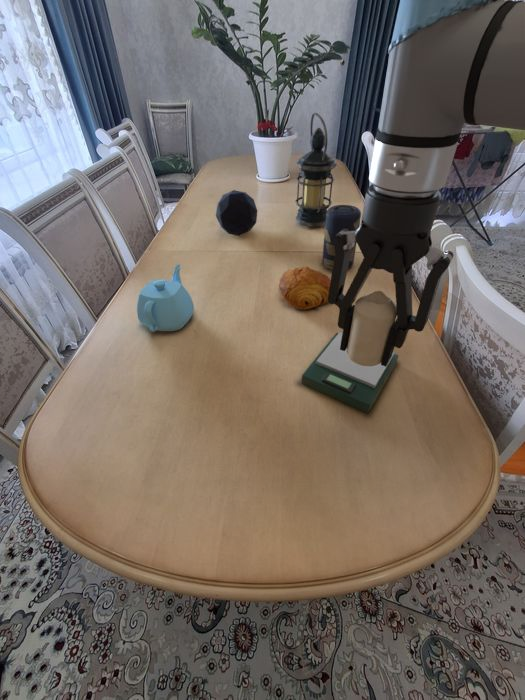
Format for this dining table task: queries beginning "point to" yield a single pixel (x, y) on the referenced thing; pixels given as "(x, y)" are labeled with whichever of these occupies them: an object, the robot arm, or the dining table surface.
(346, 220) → the canister
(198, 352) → the dining table surface
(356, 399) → the scale
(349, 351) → the candle
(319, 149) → the lantern
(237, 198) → the decorative orb
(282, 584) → the dining table surface
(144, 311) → the teapot
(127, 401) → the dining table surface
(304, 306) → the croissant
